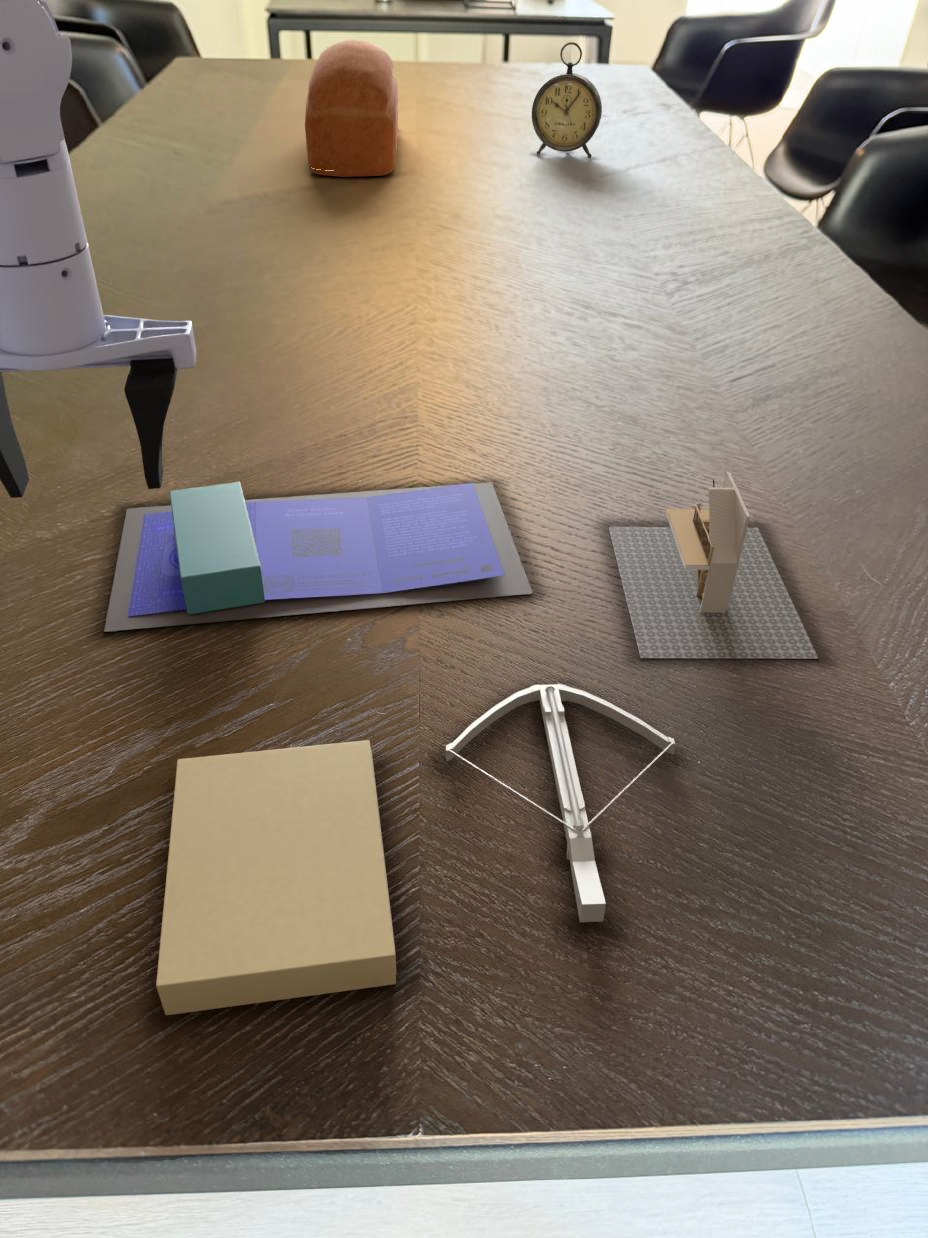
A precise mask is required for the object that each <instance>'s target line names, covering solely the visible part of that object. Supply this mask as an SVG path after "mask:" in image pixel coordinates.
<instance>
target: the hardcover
mask: <svg viewBox="0 0 928 1238" xmlns="http://www.w3.org/2000/svg"><path fill="white" fill-rule="evenodd" d="M376 784H377V783H376V777H375V766H374V757H373V750H372V748H371V740H369V739H366V740H356V741H347V742H336V743H328V744H317V745H306V746H297V747H287V748H277V749H267V750H257V751H248V752H237V753H228V754H218V755H217V754H216V755H207V756H197V757H196V756H195V757H187V758H186V757H185V758H177V761H176V772H175V781H174V791H173V792H174V794H173V802H172V814H171V824H170V825H171V826H170V834H169V835H170V836H169V844H168V845H169V846H168V856H167V867H166V875H165V876H166V877H165V889H164V896H163V897H164V898H163V907H162V908H163V909H162V917H161V918H162V919H161V920H162V921H161V928H160V929H161V930H160V941H159V949H158V961H157V971H156V973H157V974H156V982H155V987H156V990H157V993H158V997H159V999H160V1003H161V1006H162V1009H163V1011H164V1015H165V1016H171V1015H178V1014H179V1015H180V1014H187V1013H194V1012H199V1011H201V1012H202V1011H208V1010H215V1009H224V1008H229V1007H237V1006H247V1005H252V1004H260V1003H267V1002H274V1001H282V1000H289V999H296V998H303V997H310V996H311V997H312V996H319V995H325V994H332V993H340V992H347V991H353V990H363V989H370V988H377V987H383V986H384V987H385V986H392V985H396V984H397V956H396V945H395V936H394V927H393V920H392V911H391V902H390V895H389V894H390V893H389V885H388V877H387V869H386V861H385V852H384V843H383V834H382V827H381V826H382V825H381V818H380V810H379V809H380V808H379V801H378V793H377V785H376Z"/></svg>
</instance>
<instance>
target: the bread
mask: <svg viewBox="0 0 928 1238" xmlns="http://www.w3.org/2000/svg"><path fill="white" fill-rule="evenodd" d="M393 61H394V60H393V59H392V58H391V56H390V55H389V54H388V53H387V51H385V50H383V49H382V48H381V47H380V46H377V45H375V44H373V43H370V42H368V41H363V40H357V39H346V40H341V41H338V42H335V43H333V44H331V45H329V46H328V47H326V48H325V49H324V50H323V51H322V52H320V54H319V56H318V59H317V60H316V62H315V64H314V65H313V68H312V71H311V73H310V78H309V82H308V91H307V97H306V102H305V115H304V131H305V142H306V154H307V161H308V162H307V163H308V166H309V165H310V166H309V169H310V170H311V172H312V173H313V174H316V175H320V176H330V177H342V178H353V177H355V178H357V177H358V178H359V177H376V176H377V177H379V176H381V177H382V176H386V175H389V174H390V173H392V172H393V171H394V169H395V168H396V162H397V150H398V132H399V131H398V130H399V90H398V89H399V88H398V82H397V78H395V76H394V67H395V66H394V62H393ZM311 167H312V168H315V169H312V168H311ZM316 169H321V170H316ZM325 170H334V171H325Z"/></svg>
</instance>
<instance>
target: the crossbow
mask: <svg viewBox="0 0 928 1238" xmlns="http://www.w3.org/2000/svg"><path fill="white" fill-rule="evenodd" d="M538 701H539V705H540V710H541V716H542V720H543V725H544V732H545V735H546V741H547V746H548V752H549V756H550V761H551V767H552V773H553V776H554V781H555V787H556V792H557V793H556V794H557V798H558V803H559V808H560V813H561V818H562V819H560V818H559V817H558V816H556V815H554V814H553V813H551V812H549V811H548V810H546V808H543V807H542V806H540V805H538V804H537V803H536V802H534V801H532V800H531V799H529V798H528V797H526V796H524V795H522V794H521V793H519V792H518V791H516V790H515V789H513V788H512V787H510V786H509V785H507V784H506V783H504V782H502V781H501V780H499V779H497V778H496V777H494V776H493V775H491V774H489V773H488V772H486V771H485V770H483V769H481V768H480V767H478V766H477V765H476V764H474V763H472V762H471V761H469V760H467V759H466V758H464V757H463V756H461V755H460V754H459V753H460V751H462V749H463V748H465V747H466V745H467V744H468V743H469V742H471V740H473V739H474V738H475V737H476V736H478V735H479V734H480V733H481V732H483V731H484V730H485V729H486V728H488V727H489V726H491V724H493V723H494V722H495V721H497V720H499V719H500V718H501V717H503V716H505V715H507V714H508V713H509V712H511V711H513V710H515V709H516V708H517V707H521V706H522V705H523V706H524V705H525V704H528V703H534V702H538ZM563 702H570V703H574V704H578V705H581V706H584V707H586V708H588V709H590V710H593V711H595V712H597V713H599V714H602V715H604V716H606V717H608V718H610V719H612V720H613V721H615V722H617V723H618V724H621V725H623V726H624V727H626V728H628V729H629V730H632V731H633V732H635V733H637V734H639V735H641V736H642V737H644V739H647V740H648V741H649V742H651V743H653V744H654V745H655V746H657V747H659V748H660V749H662V751H661V752H660V753H659V754H658V755H657V756H656V757H655V758H654V759H653V760H652V761H651V762H650V763H648V765H646V766H645V768H644V769H642V770H641V771H640V772H639V774H637V775H636V776H635V777H634V778H633V780H631V781H630V782H629V783H628V784H627V785H626V786H625V787H624V788H622V790H621V791H620V792H619V793H618V794H617V795H615V796H614V798H613V799H612V800H610V801H609V803H607V804H606V805H605V806H604V807H603V808H602V809H601V810H600V811H599V812H598V813H597V814H596V815H595V816H594V817H593V818H592V819H591V820H590V821H589V819H588V815H587V810H586V804H585V800H584V796H583V792H582V789H581V788H582V787H581V784H580V778H579V774H578V770H577V766H576V761H575V756H574V752H573V748H572V743H571V739H570V734H569V729H568V725H567V721H566V717H565V712H566V711H565V707H564V705H563V704H562V703H563ZM675 751H676V741H675V738H673V737H671V736H668V735H665V734H663V733H662V732H660V731H659V730H657V729H656V728H654V727H653V726H651V725H650V724H648V723H646V722H645V721H643V720H642V719H641V718H638V717H637V716H635V715H634V714H631V713H629V712H627V711H625V710H624V709H622V708H621V707H618V706H616V705H615V704H613V703H611V702H609V701H607V700H605V699H602V698H600V697H599V696H595V694H594V695H593V694H591V693H589V692H587V691H585V690H582V689H579V688H578V689H577V688H575V687H572V686H571V687H570V686H567V685H566V684H562V683H557V684H556V683H555V684H539V683H538V684H533V685H530V687H527V688H524V689H521V690H519V691H516V692H514V693H512V694H511V695H510V696H508V697H507V698H505V699H503V700H502V701H500V702H498V703H497V704H495V705H494V706H493V707H491V708H490V709H488V710H487V711H486V712H485V713H483V714H482V715H481V716H480V717H478V718H477V719H475V720H474V721H473V722H472V723H470V725H469V726H468V727H466V728H465V729H464V730H463V731H462V733H460V735H458V736H457V737H456V738H455V739H454V740H453V741H452V742H450V743H448V744H446V745H445V762H446V763H447V762H449V761H451V760H452V759H453V758H455V757H457V758H459V759H460V760H462V761H464V762H465V763H466V764H468V765H470V766H472V767H473V768H474V769H476V770H478V771H479V772H481V773H482V774H484V775H485V776H487V777H488V778H490V779H492V780H494V781H495V782H496V783H498V784H500V785H501V786H503V787H504V788H506V789H508V790H509V791H511V792H512V793H514V794H515V795H516V796H519V797H520V798H522V799H524V800H525V801H527V803H529V804H531V805H533V806H534V807H536V808H537V809H539V810H541V811H542V812H544V813H545V814H547V815H548V816H550V817H552V818H554V819H555V820H557V821H558V822H560V823H561V824H563V829H564V833H565V838H566V843H567V844H566V860H567V861H569V865H570V873H571V877H572V878H571V879H572V884H573V890H574V896H575V903H576V907H577V915H578V920H579V923H595V922H597V923H598V922H604V919H605V918H604V917H605V911H606V906H607V903H606V899H605V894H604V890H603V887H602V882H601V879H600V876H599V871H598V867H597V864H596V859H595V851H594V845H593V838H592V837H593V836H592V831H591V828H590V825H591V824H592V823H594V821H595V820H597V818H599V817H600V816H601V815H602V814H603V813H604V812H605V811H606V810H607V809H608V808H609V807H610V806H611V805H612V804H613V803H614V802H615V801H616V800H618V798H619V797H620V796H622V794H624V792H625V791H626V790H627V789H628V788H629V787H630V786H631V785H633V784H634V783H635V782H636V781H637V780H638V779H639V778H640V777H641V776H642V775H643V774H644V773H645V772H646V771H647V770H648V769H649V768H650V767H651V766H653V764H654V763H655V762H656V761H658V759H659V758H660V757H661V756H663V754H665V753H668V754H671V755H673V756H674V755H675Z"/></svg>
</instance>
